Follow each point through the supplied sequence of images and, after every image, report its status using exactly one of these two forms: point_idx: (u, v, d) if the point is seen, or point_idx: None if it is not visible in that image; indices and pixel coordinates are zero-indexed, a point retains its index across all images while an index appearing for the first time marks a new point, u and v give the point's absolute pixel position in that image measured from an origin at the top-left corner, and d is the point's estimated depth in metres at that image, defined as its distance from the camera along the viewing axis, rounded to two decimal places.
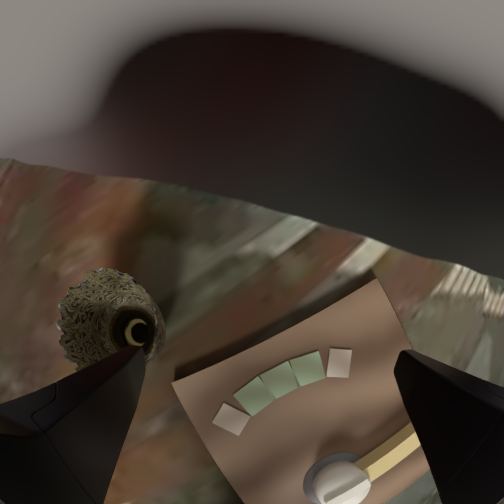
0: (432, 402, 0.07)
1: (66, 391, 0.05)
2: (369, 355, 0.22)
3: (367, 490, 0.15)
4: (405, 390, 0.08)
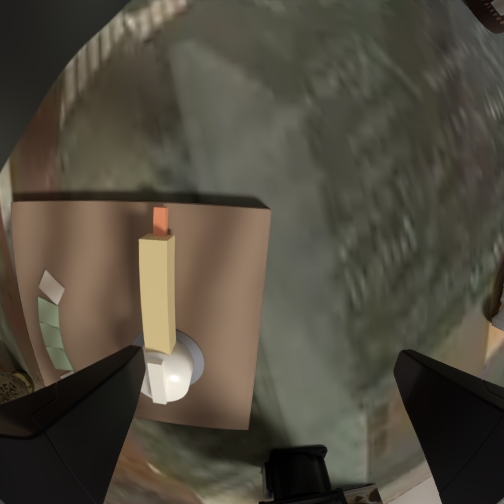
0: (433, 402, 0.07)
1: (66, 391, 0.05)
2: (56, 255, 0.19)
3: (174, 365, 0.18)
4: (405, 390, 0.08)
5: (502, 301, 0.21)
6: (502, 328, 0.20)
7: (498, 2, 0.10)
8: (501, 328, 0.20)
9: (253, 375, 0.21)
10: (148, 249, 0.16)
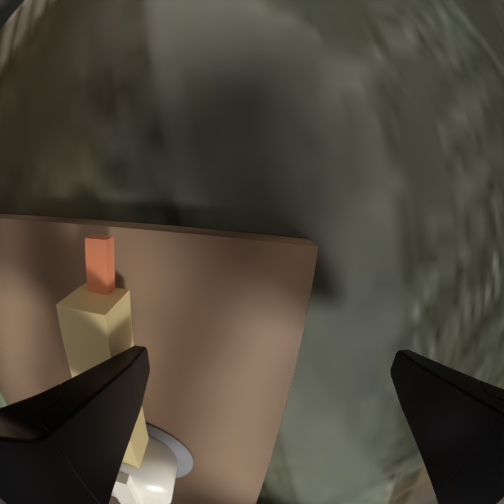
0: (429, 403, 0.07)
1: (71, 393, 0.05)
2: None
3: (147, 482, 0.09)
4: (402, 391, 0.08)
5: None
6: None
7: None
8: None
9: (264, 473, 0.12)
10: (74, 326, 0.07)
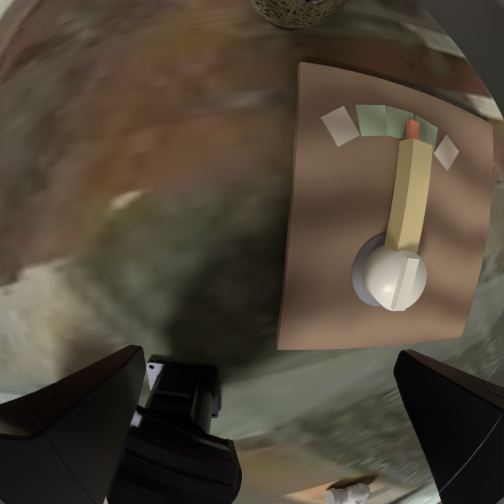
0: (432, 402, 0.07)
1: (66, 391, 0.05)
2: (466, 170, 0.19)
3: (421, 262, 0.18)
4: (405, 390, 0.08)
5: (349, 488, 0.29)
6: (335, 498, 0.27)
7: None
8: (335, 498, 0.28)
9: (358, 347, 0.22)
10: (419, 148, 0.16)
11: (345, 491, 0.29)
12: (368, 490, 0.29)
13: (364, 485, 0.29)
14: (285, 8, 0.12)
